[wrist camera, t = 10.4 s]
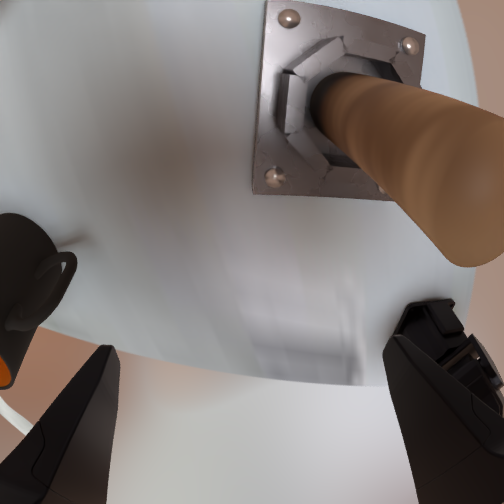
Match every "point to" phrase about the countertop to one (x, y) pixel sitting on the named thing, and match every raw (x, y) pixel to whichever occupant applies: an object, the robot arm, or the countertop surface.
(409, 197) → the brown round cylinder
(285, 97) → the bracket
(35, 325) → the mug
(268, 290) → the countertop surface
